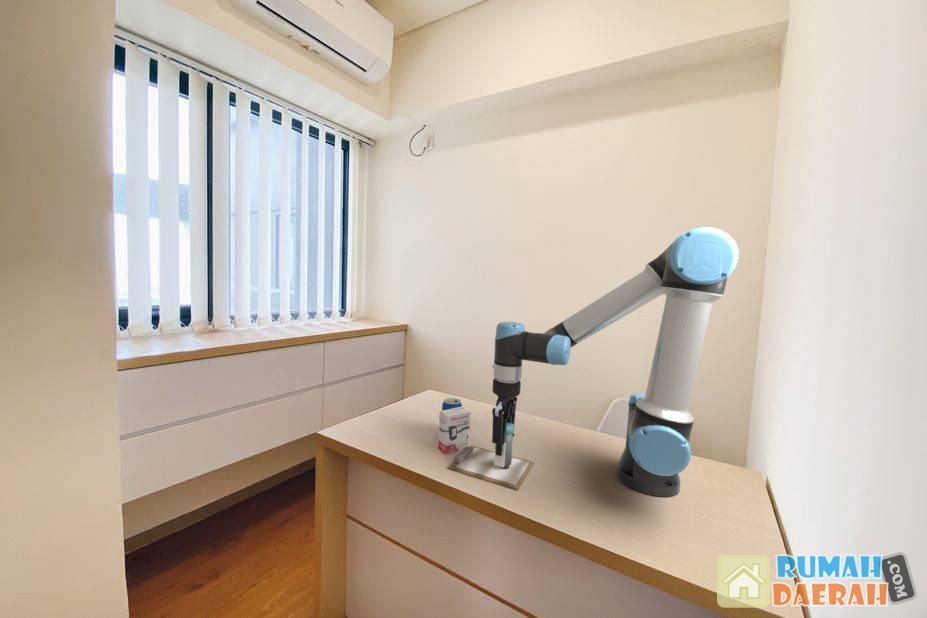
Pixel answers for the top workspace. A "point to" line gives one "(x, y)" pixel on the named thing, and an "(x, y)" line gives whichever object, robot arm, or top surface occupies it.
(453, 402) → the beverage can
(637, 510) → the top surface
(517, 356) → the robot arm
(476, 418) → the top surface
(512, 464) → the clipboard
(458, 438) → the ink box
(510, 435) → the marker
